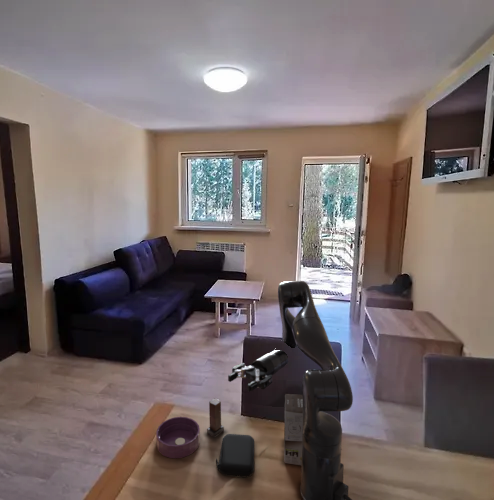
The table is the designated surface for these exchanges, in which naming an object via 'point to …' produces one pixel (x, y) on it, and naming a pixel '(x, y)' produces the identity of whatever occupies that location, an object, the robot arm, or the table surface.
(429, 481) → the table surface
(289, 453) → the coffee box
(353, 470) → the table surface
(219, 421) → the brown wooden block
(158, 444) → the bowl
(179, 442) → the beige disc
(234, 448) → the carrying case
